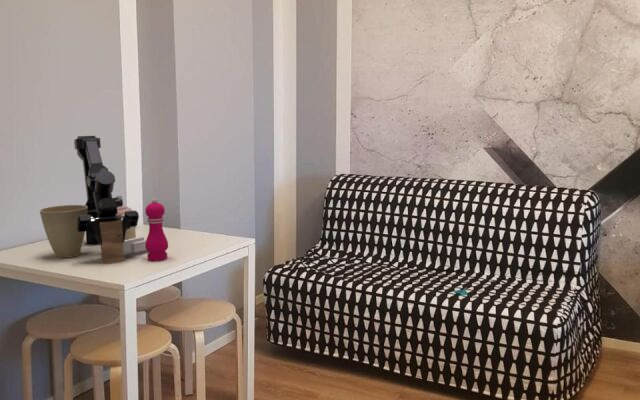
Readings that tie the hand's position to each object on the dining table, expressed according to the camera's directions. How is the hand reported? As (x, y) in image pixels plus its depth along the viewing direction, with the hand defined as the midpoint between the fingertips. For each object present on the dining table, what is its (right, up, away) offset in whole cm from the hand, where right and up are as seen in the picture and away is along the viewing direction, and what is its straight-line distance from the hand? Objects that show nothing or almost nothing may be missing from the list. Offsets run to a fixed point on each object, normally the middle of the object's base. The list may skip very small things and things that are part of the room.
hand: (112, 242), depth 217 cm
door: (-1, -6, +2) cm, 7 cm away
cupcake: (-12, +2, +57) cm, 58 cm away
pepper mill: (+13, -6, +6) cm, 15 cm away
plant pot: (-19, -5, +12) cm, 23 cm away
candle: (-4, -2, +33) cm, 33 cm away
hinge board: (+4, -4, +16) cm, 17 cm away
